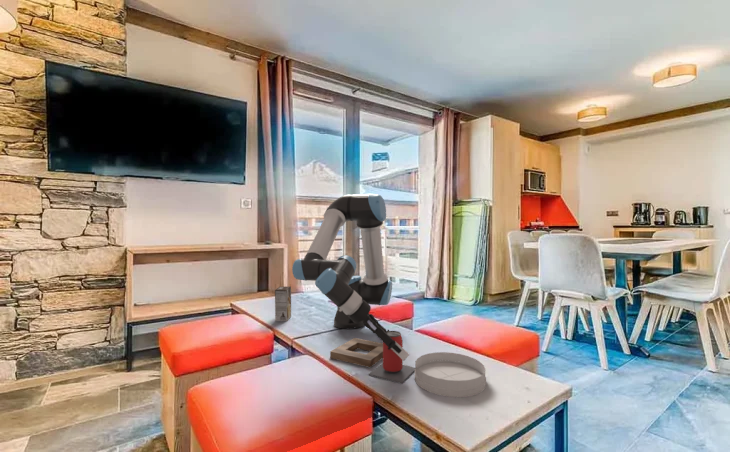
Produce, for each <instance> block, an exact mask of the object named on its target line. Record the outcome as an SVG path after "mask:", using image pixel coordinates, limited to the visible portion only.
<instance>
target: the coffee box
mask: <svg viewBox="0 0 730 452" xmlns="http://www.w3.org/2000/svg"><path fill="white" fill-rule="evenodd" d="M274 314H275V315H274V316H275V317H274V318H275V322H288V321H289V320H290V319H291V317H292V286H291V285H290V286H278V287H277V288H275V289H274Z"/></svg>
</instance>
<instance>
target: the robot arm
mask: <svg viewBox="0 0 730 452" xmlns="http://www.w3.org/2000/svg"><path fill="white" fill-rule="evenodd" d="M386 220H387V207H386V203H385V200H384V198H383V196H382V195H380V194H379V193H378V194H377V193H376V194H375V193H364V194H363V193H361V194H360V193H359V194H345V195H342V196H340V197H339V198H336V199H335V200H333V202H332V203H331V204H329V205H328V207H327V208H326V210H325V212H324V214H323V221H322V223H320V224H321V225H320V227H319V229H318V231H317V232H316V234H315V236H314V238H313V240H312V242H311V244H310V246H309V247H308V250H307V252H306V254H305V256H304V258H297V259H295V261H294V262H293V263H292V269H291V271H292V275H293V277H294V278H295V280H299V281H314V285H315V286H316V288H317V289H318V290H319V291H320V292H321V294H323V295H324V296H325V297H326V298H327V299H329V300H330V301H331V302H332V303H333V304H334V305H335V306H336V307H337V309H336V312H335V316H334V319H333V326H334V327H335V328H338V329H342V330H343V329H344V330H352V329H358V328H359V329H360V328H363V327H366V328H367V329H368V330H370V331H371V333H372V334H374V335H376V336H377V338H378V339H379V340H381V342H382V343H383V342H384V343H385V344H386V345H387V346H388V350H389V349H392V350H393V351H394V352H395V353H396V354H397V355H398V356H399V357H400V358H401V359H402V360H403V361H404V362H405V360H406V359H407V358H408V357H409V356H410V353H408V352H407V351H406V350H405V348H402V347H401V346H400V345H399V344H398V343H397V342H396V341H394V340H393V339H392V338H391V337H390V336H389V335H388V334H387V333H386V332H387V331H390V329H386V328H385V327H384V326H383V325H381V324H380V323H379V321H378V320H377V318H375V316H374V315H373V314H372V313H370V312H371V309H372V306H371V305H375V306H388V304H389V303H390V301H391V296H392V291H393V281H392V280H390V279H389V278H388V275H387V274H386V273H385V271H384V270H385V269H384V258H383V247H382V236H381V235H382V233H381V227H382V226H383V224H384V222H385V221H386ZM346 222H355V223H356V227H357V228H358V229H360V235H361V243H362V244H361V245H362V253H363V263H364V269H365V270H364V273H365V276H363V278H362V276H361V275H355V272H356V269H357V262H356V260H355V259H354V258H353V257H352V256H350V255H346V254H344V255H340V256H339V257H338V258H337V259H327V258H328V256H329V253H330V250H331V248H332V247H333V244H334V242H335V241H336V238H337V235H338V233H339V231H340V229H341V228H342V227H343V226H344V225H345V224H346Z"/></svg>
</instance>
